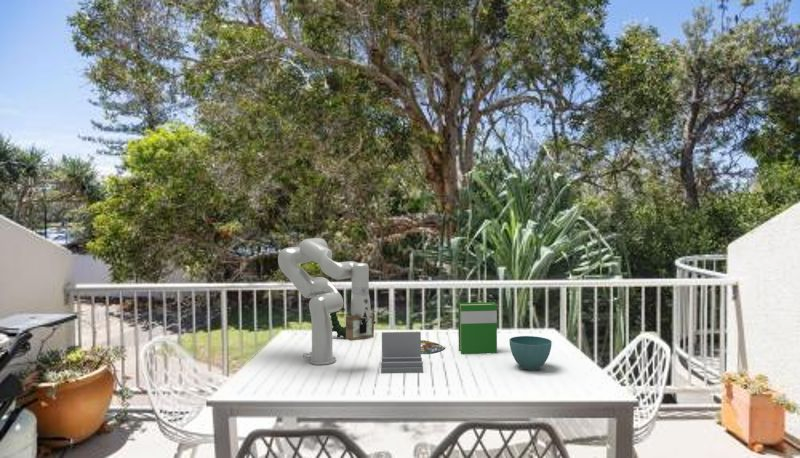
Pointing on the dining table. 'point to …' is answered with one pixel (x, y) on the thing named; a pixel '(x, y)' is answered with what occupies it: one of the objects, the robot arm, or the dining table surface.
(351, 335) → the picture frame
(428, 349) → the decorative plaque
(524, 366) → the teal bowl
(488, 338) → the hardback book
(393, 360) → the display ledge
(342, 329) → the toy figurine
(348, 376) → the dining table surface
